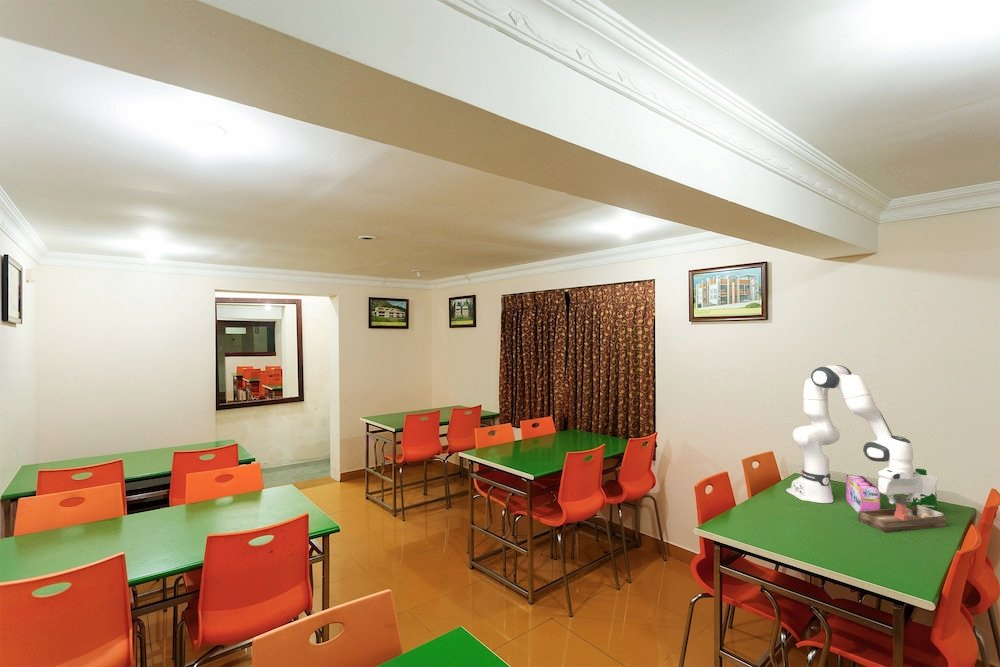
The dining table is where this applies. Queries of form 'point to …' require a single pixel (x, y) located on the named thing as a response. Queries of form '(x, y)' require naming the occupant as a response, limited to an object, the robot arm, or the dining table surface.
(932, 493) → the milk carton
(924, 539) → the dining table surface
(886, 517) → the pitch
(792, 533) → the dining table surface
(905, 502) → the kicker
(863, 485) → the gum box
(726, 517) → the dining table surface
